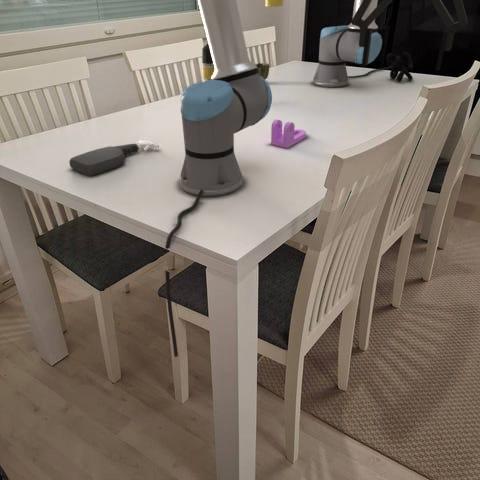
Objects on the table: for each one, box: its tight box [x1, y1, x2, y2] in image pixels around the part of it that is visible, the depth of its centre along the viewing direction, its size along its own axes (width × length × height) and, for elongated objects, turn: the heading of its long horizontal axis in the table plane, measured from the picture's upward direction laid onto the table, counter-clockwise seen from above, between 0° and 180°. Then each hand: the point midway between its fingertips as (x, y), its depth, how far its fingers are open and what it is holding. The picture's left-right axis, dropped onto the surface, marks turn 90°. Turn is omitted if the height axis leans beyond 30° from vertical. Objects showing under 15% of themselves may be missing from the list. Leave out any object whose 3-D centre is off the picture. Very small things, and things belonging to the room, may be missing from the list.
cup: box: [254, 62, 271, 81], centre depth 198 cm, size 8×7×8 cm
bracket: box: [270, 119, 307, 149], centre depth 134 cm, size 13×6×7 cm, turn 143°
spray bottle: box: [68, 139, 160, 177], centre depth 124 cm, size 3×11×24 cm
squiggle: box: [385, 51, 414, 83], centre depth 198 cm, size 11×10×15 cm
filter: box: [201, 40, 215, 81], centre depth 171 cm, size 6×6×30 cm
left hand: (400, 67), depth 86 cm, fingers open, 13 cm apart
